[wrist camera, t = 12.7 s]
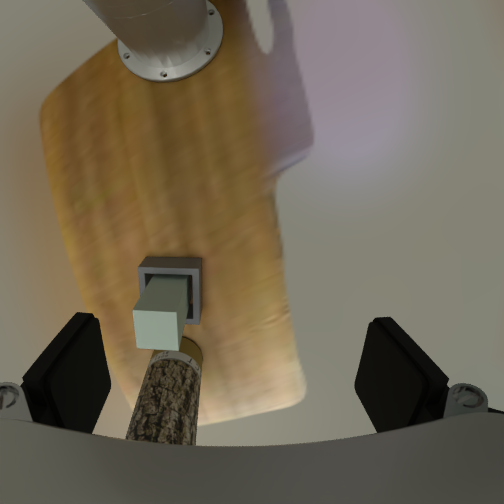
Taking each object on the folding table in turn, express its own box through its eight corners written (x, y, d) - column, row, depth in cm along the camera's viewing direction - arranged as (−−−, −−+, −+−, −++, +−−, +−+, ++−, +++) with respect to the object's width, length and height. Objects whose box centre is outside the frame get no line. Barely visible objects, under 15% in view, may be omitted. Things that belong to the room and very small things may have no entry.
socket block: (146, 256, 38) (138, 267, 34) (201, 258, 39) (198, 268, 35) (149, 307, 40) (142, 322, 36) (201, 309, 40) (199, 324, 37)
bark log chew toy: (156, 372, 43) (119, 523, 19) (151, 332, 41) (97, 487, 17) (203, 375, 43) (194, 533, 19) (202, 334, 41) (186, 500, 17)
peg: (158, 267, 39) (132, 310, 27) (190, 268, 39) (176, 312, 27) (159, 297, 40) (137, 348, 28) (190, 298, 40) (178, 350, 28)
